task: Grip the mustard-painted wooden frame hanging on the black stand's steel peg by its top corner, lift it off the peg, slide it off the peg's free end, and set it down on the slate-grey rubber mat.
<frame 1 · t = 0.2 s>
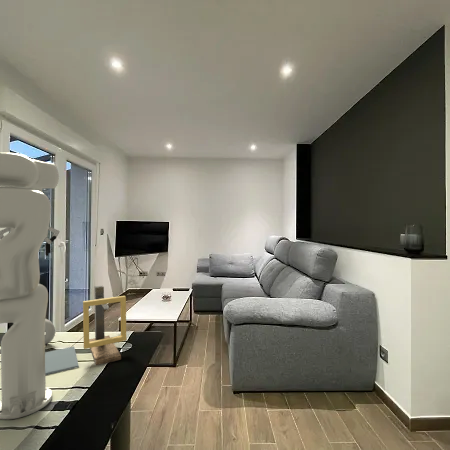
hand: (30, 256, 98), 37 cm above the table, tool pointing down, fingers open, 9 cm apart
mat: (56, 361, 102), on the table
frame: (105, 343, 105), point 4 cm above the table, touching stand
donut: (43, 344, 117), on the table
stand: (103, 350, 109), on the table
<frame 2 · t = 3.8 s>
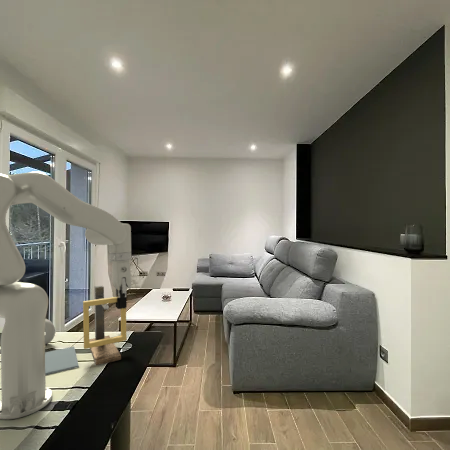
hand: (121, 307, 108), 17 cm above the table, tool pointing down, fingers closed on frame, 1 cm apart
frame: (105, 343, 105), point 5 cm above the table, touching gripper, stand
everything else where it was.
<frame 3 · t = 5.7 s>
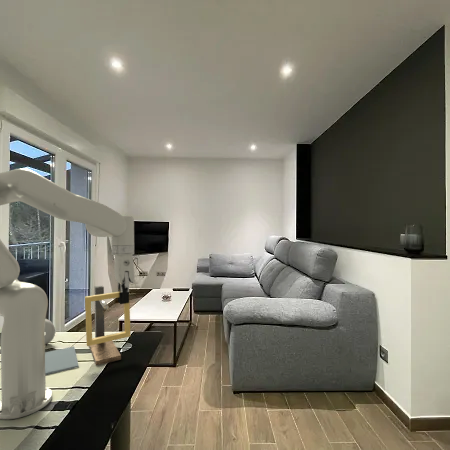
hand: (123, 302, 104), 19 cm above the table, tool pointing down, fingers closed on frame, 1 cm apart
frame: (109, 340, 101), point 7 cm above the table, touching gripper
everything else where it was.
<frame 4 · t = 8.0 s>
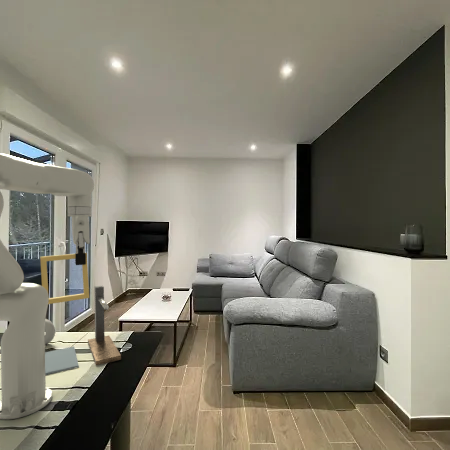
hand: (80, 264, 104), 33 cm above the table, tool pointing down, fingers closed on frame
frame: (66, 300, 102), point 21 cm above the table, touching gripper
everything else where it was.
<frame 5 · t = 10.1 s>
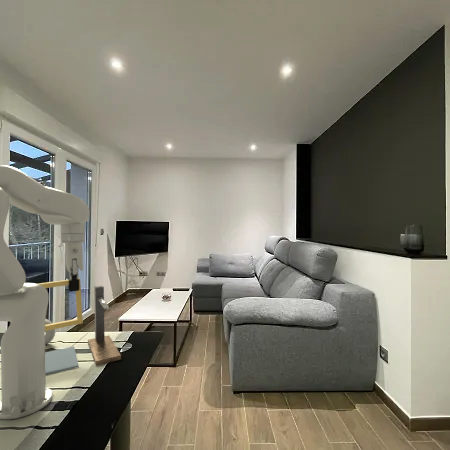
hand: (73, 290, 105), 24 cm above the table, tool pointing down, fingers closed on frame
frame: (60, 327, 102), point 11 cm above the table, touching gripper
everything else where it was.
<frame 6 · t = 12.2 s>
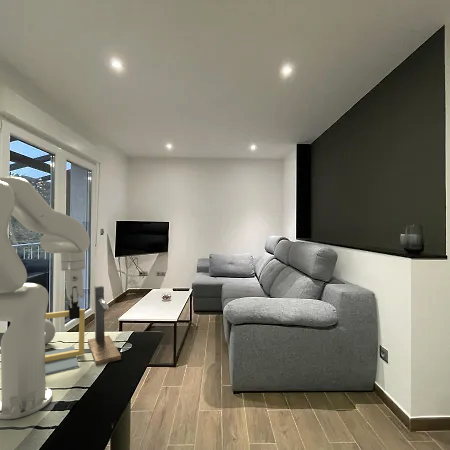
hand: (74, 316, 104), 14 cm above the table, tool pointing down, fingers open, 3 cm apart
frame: (61, 358, 102), point 1 cm above the table, touching mat
everything else where it was.
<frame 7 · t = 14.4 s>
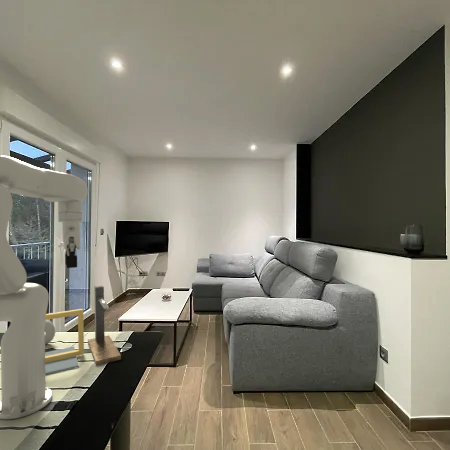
hand: (71, 266, 104), 32 cm above the table, tool pointing down, fingers open, 9 cm apart
nothing on the table moved.
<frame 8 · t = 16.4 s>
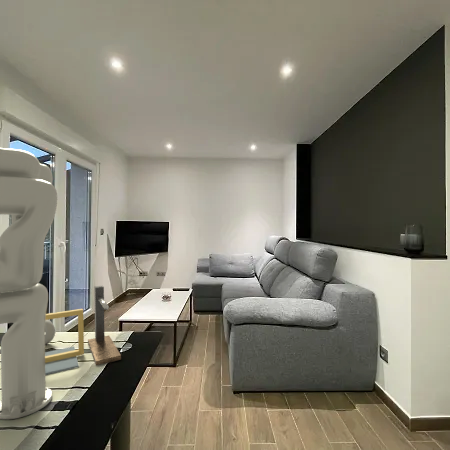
hand: (21, 256, 102), 36 cm above the table, tool pointing down, fingers open, 9 cm apart
nothing on the table moved.
at the end: frame inside the target area (1.9 cm from its centre), point 0.6 cm above the table; frame touching mat; the gripper is holding nothing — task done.
